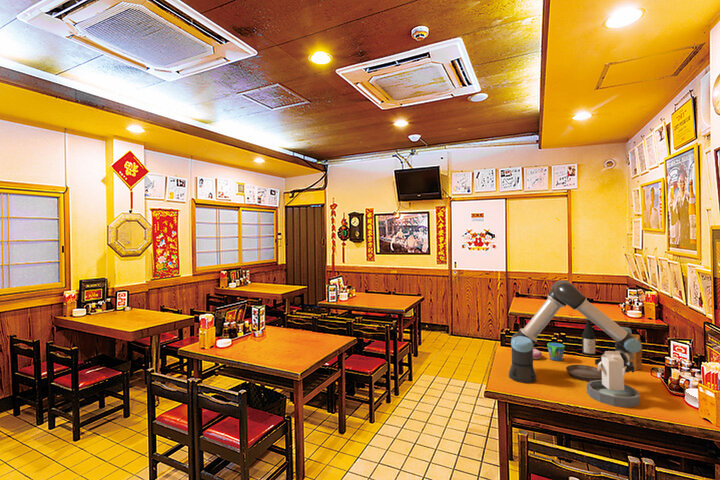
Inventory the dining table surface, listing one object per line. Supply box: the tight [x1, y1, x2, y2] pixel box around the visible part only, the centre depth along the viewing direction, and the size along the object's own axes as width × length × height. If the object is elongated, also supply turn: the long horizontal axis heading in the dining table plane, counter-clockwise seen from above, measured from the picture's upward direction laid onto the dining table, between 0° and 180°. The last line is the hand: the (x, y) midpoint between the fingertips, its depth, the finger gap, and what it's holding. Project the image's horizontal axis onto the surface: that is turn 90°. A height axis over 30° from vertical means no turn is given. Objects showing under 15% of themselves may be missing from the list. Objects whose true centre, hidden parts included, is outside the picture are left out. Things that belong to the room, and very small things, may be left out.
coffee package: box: [628, 333, 643, 371], centre depth 228 cm, size 10×12×22 cm
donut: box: [533, 348, 543, 360], centre depth 250 cm, size 14×13×5 cm
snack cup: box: [547, 342, 566, 362], centre depth 244 cm, size 16×11×10 cm
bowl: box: [586, 380, 641, 408], centre depth 186 cm, size 22×22×4 cm
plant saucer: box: [565, 364, 602, 382], centre depth 215 cm, size 21×21×3 cm
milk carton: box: [601, 350, 625, 390], centre depth 186 cm, size 7×7×19 cm
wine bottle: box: [581, 317, 596, 356], centre depth 254 cm, size 8×8×30 cm
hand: (610, 369), depth 183 cm, fingers closed on milk carton, 10 cm apart
